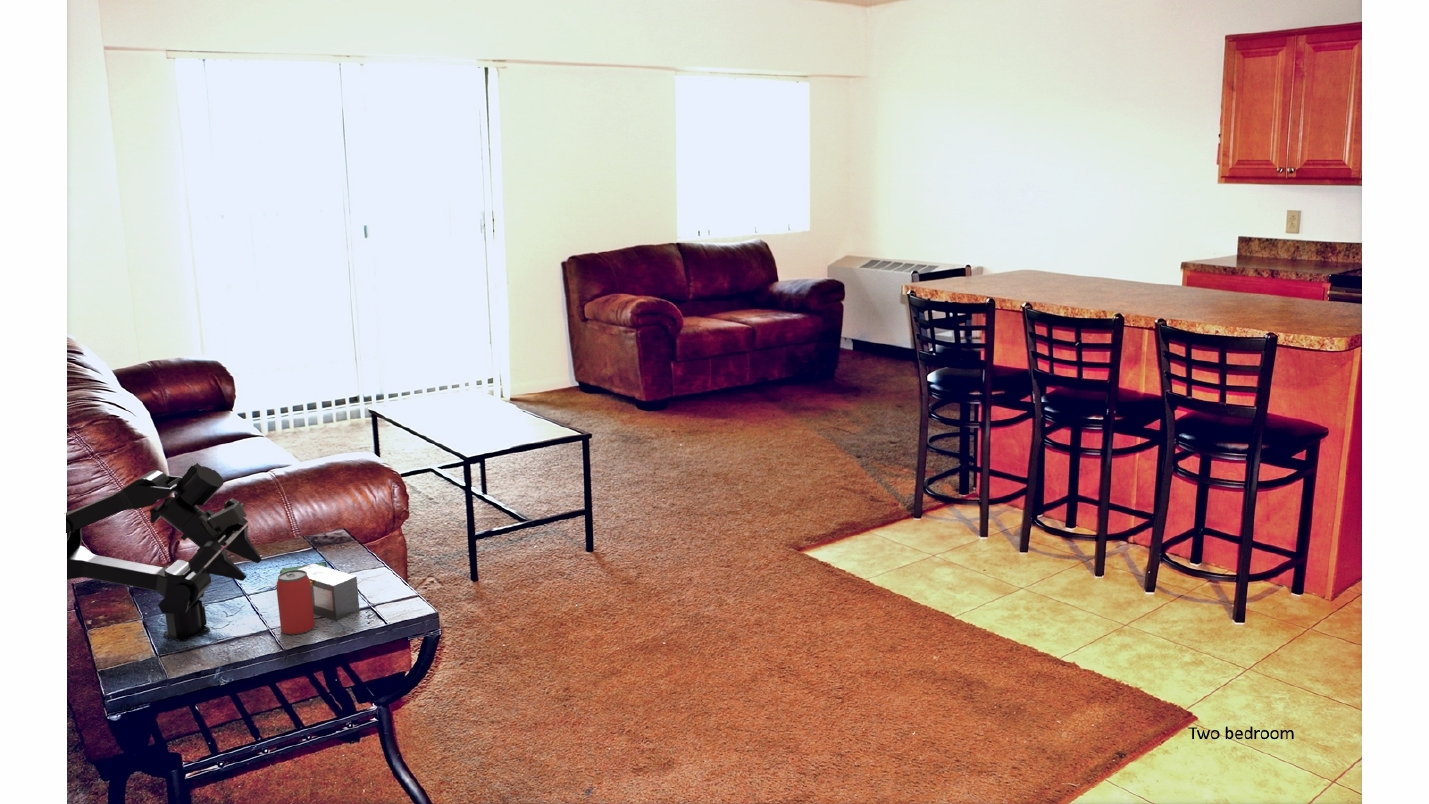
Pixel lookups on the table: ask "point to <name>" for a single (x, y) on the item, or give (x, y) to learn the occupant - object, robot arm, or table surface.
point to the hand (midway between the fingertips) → (252, 570)
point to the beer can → (295, 602)
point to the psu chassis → (332, 592)
